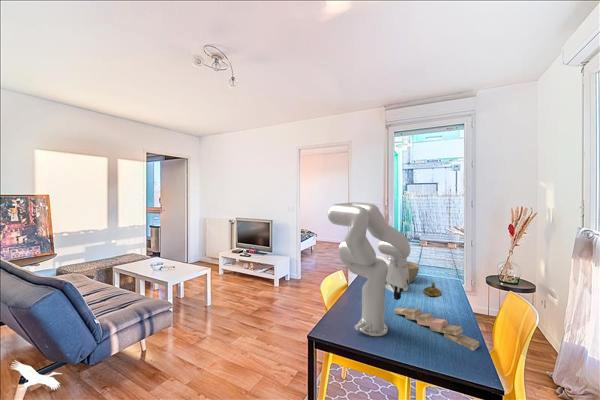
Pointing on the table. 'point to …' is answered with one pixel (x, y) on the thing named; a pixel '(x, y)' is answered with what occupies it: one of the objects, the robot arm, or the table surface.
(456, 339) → the tile
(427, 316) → the tile
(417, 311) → the head tile
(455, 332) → the tile
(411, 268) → the planter bowl
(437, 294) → the seal
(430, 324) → the tile
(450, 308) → the table surface
